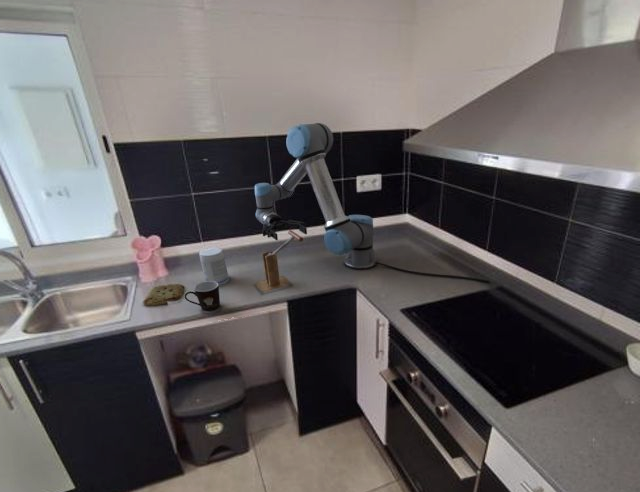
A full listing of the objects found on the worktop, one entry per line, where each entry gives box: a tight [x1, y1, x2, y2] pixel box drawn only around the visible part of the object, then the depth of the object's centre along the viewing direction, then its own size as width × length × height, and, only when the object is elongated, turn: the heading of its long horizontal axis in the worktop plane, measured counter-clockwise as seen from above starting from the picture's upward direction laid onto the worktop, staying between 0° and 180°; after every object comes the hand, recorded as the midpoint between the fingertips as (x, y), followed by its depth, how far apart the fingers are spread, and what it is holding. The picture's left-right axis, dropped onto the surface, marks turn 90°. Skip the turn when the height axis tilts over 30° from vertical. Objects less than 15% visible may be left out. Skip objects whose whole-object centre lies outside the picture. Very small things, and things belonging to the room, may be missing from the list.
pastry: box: [142, 283, 185, 307], centre depth 153 cm, size 17×17×3 cm
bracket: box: [254, 250, 293, 292], centre depth 158 cm, size 13×10×15 cm
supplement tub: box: [198, 247, 230, 286], centre depth 162 cm, size 10×10×15 cm
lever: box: [265, 229, 304, 258], centre depth 157 cm, size 16×11×2 cm
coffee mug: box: [184, 280, 221, 312], centre depth 142 cm, size 12×9×10 cm
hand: (291, 234), depth 163 cm, fingers open, 13 cm apart
